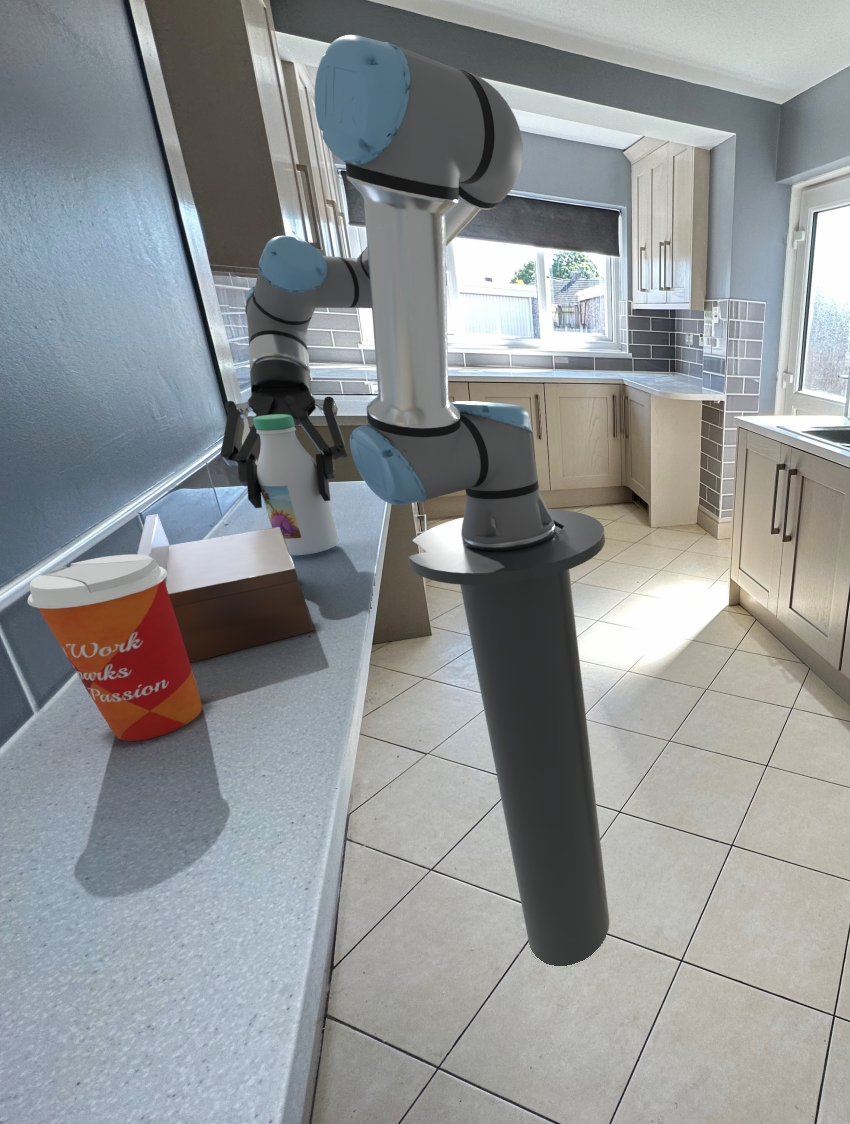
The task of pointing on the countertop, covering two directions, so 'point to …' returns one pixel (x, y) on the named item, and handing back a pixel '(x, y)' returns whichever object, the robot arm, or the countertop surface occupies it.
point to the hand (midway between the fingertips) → (290, 499)
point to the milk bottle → (292, 488)
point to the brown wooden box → (229, 589)
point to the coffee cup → (122, 641)
